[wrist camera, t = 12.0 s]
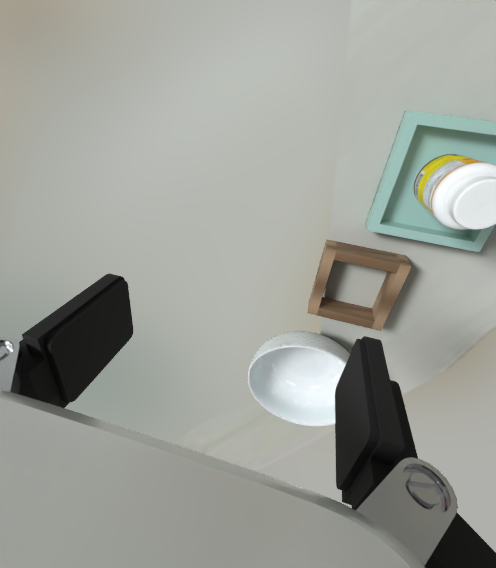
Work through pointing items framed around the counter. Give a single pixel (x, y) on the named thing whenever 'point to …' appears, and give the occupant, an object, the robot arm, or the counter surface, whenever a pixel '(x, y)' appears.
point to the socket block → (366, 257)
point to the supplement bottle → (458, 191)
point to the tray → (407, 163)
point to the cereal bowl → (298, 377)
